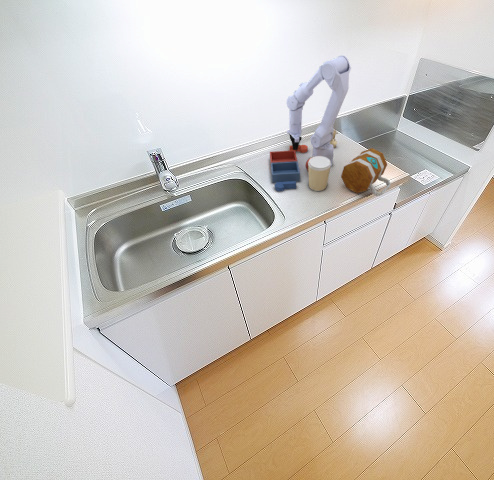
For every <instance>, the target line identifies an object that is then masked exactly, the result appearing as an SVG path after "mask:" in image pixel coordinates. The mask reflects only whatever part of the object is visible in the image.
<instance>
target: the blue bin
mask: <svg viewBox="0 0 494 480" xmlns="http://www.w3.org/2000/svg"><path fill="white" fill-rule="evenodd" d="M270 170H271V182H272V184H275V183H277V182H290V181H296V183H298V182H299V183H300V182H301V171H300V167H299V162H298V160H297V161H295V162H278V163H271V162H270Z"/></svg>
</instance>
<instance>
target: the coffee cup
mask: <svg viewBox="0 0 494 480" xmlns="http://www.w3.org/2000/svg"><path fill="white" fill-rule="evenodd" d="M310 158H311V157H310ZM331 168H332V166H331V162H330V160H329V159H328V158H326V157H324V156H315V157H312V158H311V159H310V160H309V162H308V170H309V172H308V187H309V189H311V190H312V191H315V192H321V191H324V190H326V188H327V185H328V181H329V176H330V170H331Z"/></svg>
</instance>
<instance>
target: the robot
mask: <svg viewBox="0 0 494 480" xmlns="http://www.w3.org/2000/svg"><path fill="white" fill-rule="evenodd" d="M337 134H339V132H337V130H336V129H334V131H333V139H332V140H331V141H330V144H332V145H333V149H334V148H336V147H337V143H338V141H337V140H336V139H335V138H336V136H337Z"/></svg>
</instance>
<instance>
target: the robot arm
mask: <svg viewBox="0 0 494 480" xmlns="http://www.w3.org/2000/svg"><path fill="white" fill-rule="evenodd" d="M351 70H352V67H351V64H350V61H349V59H348V57H347V56H345V55H338V56H337V57H335V58H333V59H330V60H326V61H324V62H323V64H322V65H320V66H319V67H318V69H317V70H316V71H315V73H314V74H313V75H312V76H311V78H310V79H309V80H308V82H307V81H305V82H301V83H299V87H298V88H297V89H296V90H294V91H293V94H292V95H289V96H287V99H286V106H287V108H288V109H289V115H288V116H289V118H288V119H289V123H288V125H289V126H288V127H289V128H288V129H289V130H286V134H288V136H289V139H290V142H291V145H292V146H293V150H298V146H299V145H300V143H301V141H302V139H303V138H302V136H301V135H302V132H303V130H302V126H303V125H302V124H303V120H302V119H303V110H304V106H305V104H306V101H308V100H309V99H310V98H311V97H312V96H313V94H314V89H316V87H317V86H318V85H320V83H322V82H323V81H325V82H326V84H327V85H328V87H329V89H330V90H332V91H331V94H330V97H329V99H328V102H327V105H326V108H325V110H324V113H323V115H322V119H321V121H320V124H319V125H318V127H317V128H316V129H315V130H314V133H313V134H312V135H311V136H310V138H309V143H310V145H311V146H312V155H311V156H312V157H315V156H324V157H326V158H328V159H329V160H330V162H331V167H332V166H333V161H334V160H333V159H334V152H335V151H334V148H333V145H332V144H330V141H331V140H332V139H333V131H334V130H335V129H334V125H335V123H336V120H337V118H338V115H339V113H340V111H341V109H342V106H343V103H344V101H345V99H346V96H347V94H348V91H349V88H350V87H349V86H350V85H349V83H350V82H349V80H350V72H351ZM333 140H334V139H333Z"/></svg>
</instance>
